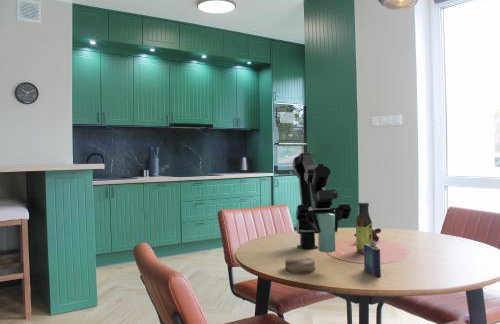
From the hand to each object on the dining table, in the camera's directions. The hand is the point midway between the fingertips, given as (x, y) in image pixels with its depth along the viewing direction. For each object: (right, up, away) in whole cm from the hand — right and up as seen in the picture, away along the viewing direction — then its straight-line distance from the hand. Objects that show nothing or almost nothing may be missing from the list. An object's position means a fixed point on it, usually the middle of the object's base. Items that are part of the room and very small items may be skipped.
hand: (327, 231), depth 134 cm
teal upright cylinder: (0, -7, +1) cm, 7 cm away
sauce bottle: (+19, -13, +25) cm, 34 cm away
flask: (+14, -13, -3) cm, 20 cm away
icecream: (+26, -12, +43) cm, 52 cm away
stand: (-9, -13, +2) cm, 16 cm away
